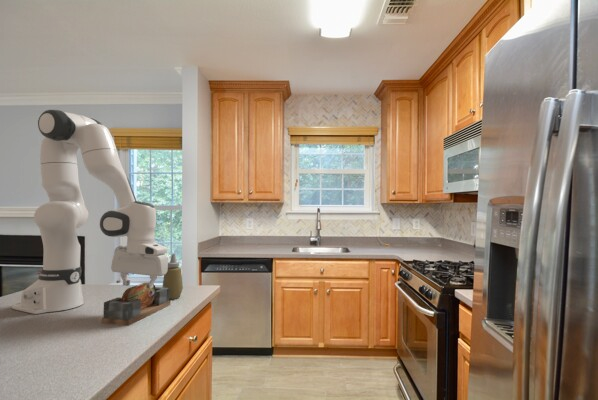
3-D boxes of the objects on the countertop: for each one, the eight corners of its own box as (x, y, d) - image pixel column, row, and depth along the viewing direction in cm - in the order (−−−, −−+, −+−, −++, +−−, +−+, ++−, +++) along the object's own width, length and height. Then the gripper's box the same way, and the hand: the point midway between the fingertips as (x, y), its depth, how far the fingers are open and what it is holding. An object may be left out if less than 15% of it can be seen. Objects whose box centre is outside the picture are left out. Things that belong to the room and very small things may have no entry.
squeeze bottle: (175, 294, 136) (176, 252, 136) (186, 297, 131) (187, 254, 131) (157, 298, 129) (158, 254, 130) (168, 301, 124) (170, 256, 125)
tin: (127, 315, 103) (128, 289, 103) (119, 315, 104) (119, 289, 104) (156, 302, 118) (157, 280, 118) (149, 302, 118) (149, 279, 119)
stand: (101, 322, 100) (102, 302, 101) (147, 303, 122) (147, 286, 122) (128, 325, 99) (129, 304, 99) (170, 305, 120) (170, 287, 120)
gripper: (108, 246, 110) (105, 285, 110) (160, 250, 107) (157, 291, 106) (121, 244, 117) (118, 282, 116) (171, 248, 113) (168, 287, 112)
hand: (137, 286), depth 111 cm, fingers open, 8 cm apart
